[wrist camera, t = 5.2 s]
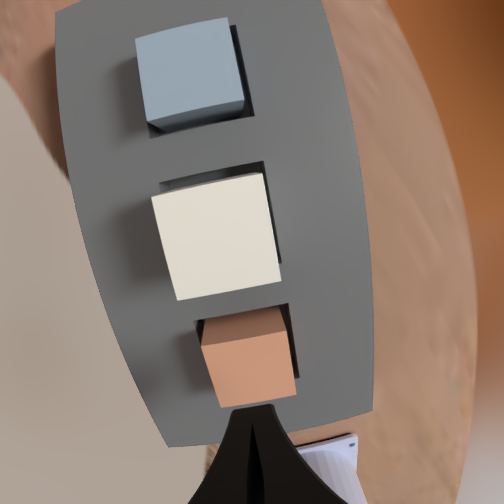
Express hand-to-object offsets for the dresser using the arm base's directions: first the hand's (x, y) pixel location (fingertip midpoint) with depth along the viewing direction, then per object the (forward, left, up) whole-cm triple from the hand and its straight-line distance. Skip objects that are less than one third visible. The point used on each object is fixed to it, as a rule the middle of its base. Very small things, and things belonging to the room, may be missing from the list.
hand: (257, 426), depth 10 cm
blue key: (+12, 0, -7) cm, 14 cm away
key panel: (+6, 0, -8) cm, 10 cm away
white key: (+6, 0, -5) cm, 8 cm away
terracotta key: (0, 0, -7) cm, 7 cm away
